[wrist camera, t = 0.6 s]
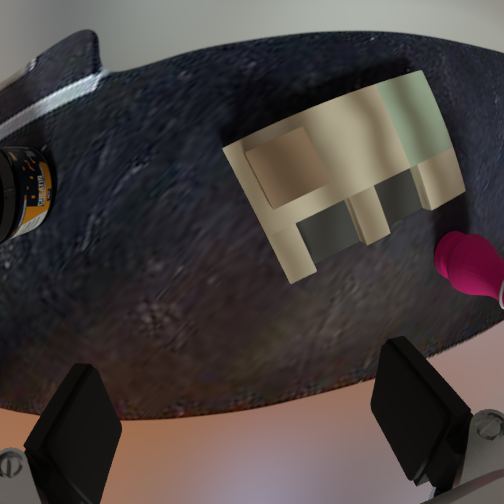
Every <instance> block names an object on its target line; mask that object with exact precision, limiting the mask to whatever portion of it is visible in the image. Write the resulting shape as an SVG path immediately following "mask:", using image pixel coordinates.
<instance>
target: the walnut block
mask: <svg viewBox="0 0 504 504" xmlns="http://www.w3.org/2000/svg"><path fill="white" fill-rule="evenodd" d="M244 156H245V158H246V160H247V162H248V164H249V166H250V168H251V170H252V172H253V174H254V176H255V178H256V180H257V182H258V184H259V186H260V188H261V190H262V192H263V194H264V196H265V198H266V200H267V202H268V203H269V205H270V206H271V207H272V209H273V210H275V209H277V208H279V207H281V206H283V205H285V204H287V203H289V202H291V201H293V200H295V199H297V198H300V197H302V196H304V195H306V194H308V193H310V192H312V191H314V190H316V189H318V188H320V187H323V186H325V185H327V184H329V181H328V178H327V176H326V174H325V172H324V170H323V167H322V165H321V163H320V161H319V159H318V157H317V154H316V152H315V150H314V148H313V146H312V144H311V142H310V140H309V138H308V136H307V134H306V132H305V130H304V128H303V126H302V127H300V128H298V129H295V130H293V131H291V132H289V133H286V134H284V135H282V136H280V137H277V138H275V139H273V140H271V141H269V142H267V143H264V144H262V145H260V146H258V147H256V148H254V149H252V150H250V151H248V152H246V153H245V154H244Z"/></svg>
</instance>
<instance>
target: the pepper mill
mask: <svg viewBox="0 0 504 504" xmlns="http://www.w3.org/2000/svg"><path fill="white" fill-rule="evenodd" d="M434 261H435V266H436V269H437V271H438V272H439V273H440V274H441V275H442V276H444V277H446V278H447V279H449V280H450V282H451V284H452V286H453V287H454V288H455V289H457V290H459V291H461V292H463V293H466V294H470V295H488V296H492V297H494V298H496V299H497V300H499V303H500V306H501V308H502V309H504V260H503V259H502V258H501V257H500V256H499V255H498V253H497V251H496V250H495V248H494V247H493V245H492V244H491V243H490V242H489V241H488V240H486V239H485V238H483V237H481V236H479V235H477V234H469V235H466V234H464V233H462V232H459V231H451V232H448V233H447V234H445V235H444V236H443V237H442V238H441V240H440V241H439V243H438V245H437V247H436V250H435V256H434Z"/></svg>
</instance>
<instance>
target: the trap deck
mask: <svg viewBox="0 0 504 504" xmlns="http://www.w3.org/2000/svg"><path fill="white" fill-rule="evenodd" d="M302 126H303V128H304V130H305V132H306V134H307V136H308V138H309V140H310V142H311V144H312V146H313V148H314V150H315V152H316V154H317V157H318V159H319V161H320V163H321V165H322V167H323V170H324V172H325V174H326V176H327V178H328V181H329V184H327V185H325V186H323V187H320V188H318V189H316V190H314V191H312V192H310V193H308V194H306V195H304V196H302V197H300V198H297V199H295V200H293V201H291V202H289V203H287V204H285V205H283V206H281V207H279V208H277V209H275V210H273V209H272V207H271V206H270V205H269V203H268V202H267V200H266V198H265V196H264V194H263V192H262V190H261V188H260V186H259V184H258V182H257V180H256V178H255V176H254V174H253V172H252V170H251V168H250V166H249V164H248V162H247V160H246V158H245V156H244V154H245V153H246V152H248V151H250V150H252V149H254V148H256V147H258V146H260V145H262V144H264V143H267V142H269V141H271V140H273V139H275V138H277V137H280V136H282V135H284V134H286V133H289V132H291V131H293V130H295V129H298V128H300V127H302ZM222 149H223V151H224V153H225V155H226V157H227V159H228V161H229V162H230V164H231V166H232V168H233V170H234V172H235V174H236V176H237V178H238V180H239V182H240V184H241V186H242V188H243V190H244V192H245V194H246V196H247V198H248V200H249V201H250V203H251V205H252V207H253V209H254V211H255V213H256V215H257V217H258V219H259V221H260V223H261V225H262V227H263V229H264V231H265V233H266V235H267V237H268V239H269V241H270V243H271V245H272V247H273V249H274V251H275V253H276V255H277V257H278V259H279V261H280V263H281V265H282V268H283V270H284V272H285V274H286V276H287V278H288V280H289V282H290V284H292V283H294V282H296V281H298V280H300V279H302V278H304V277H306V276H308V275H310V274H312V273H314V272H316V271H317V270H316V268H315V266H314V264H316V263H318V262H320V261H322V260H324V259H326V258H328V257H330V256H332V255H334V254H336V253H338V252H340V251H341V250H343V249H345V248H347V247H349V246H351V245H353V244H355V243H357V242H359V241H361V242H363V243H364V244H366V245H369V244H371V243H373V242H375V241H377V240H379V239H381V238H383V237H384V236H386V235H388V234H390V230H389V227H388V226H390V225H392V224H393V223H395V222H397V221H399V220H401V219H403V218H405V217H406V216H408V215H410V214H412V213H414V212H416V211H418V210H419V209H421V208H425V209H428V210H434V209H435V208H437V207H439V206H441V205H442V204H444V203H446V202H448V201H449V200H451V199H453V198H455V197H456V196H458V195H460V194H461V193H463V192H465V191H466V190H465V186H464V182H463V179H462V175H461V171H460V168H459V165H458V161H457V158H456V155H455V152H454V149H453V146H452V143H451V140H450V137H449V134H448V131H447V128H446V126H445V123H444V120H443V118H442V115H441V113H440V110H439V108H438V105H437V103H436V101H435V98H434V96H433V94H432V91H431V89H430V87H429V85H428V83H427V80H426V78H425V76H424V74H423V72H422V70H420V71H417V72H413V73H410V74H406V75H403V76H399V77H396V78H393V79H390V80H387V81H383V82H380V83H377V84H374V85H371V86H368V87H365V88H362V89H360V90H357V91H354V92H351V93H348V94H346V95H343V96H340V97H338V98H335V99H332V100H330V101H327V102H325V103H322V104H319V105H317V106H314V107H312V108H310V109H307V110H305V111H302V112H300V113H297V114H295V115H293V116H290V117H288V118H286V119H283V120H281V121H279V122H277V123H274V124H272V125H270V126H268V127H266V128H263V129H261V130H259V131H257V132H255V133H253V134H251V135H248V136H246V137H244V138H242V139H240V140H238V141H236V142H234V143H232V144H230V145H228V146H226V147H224V148H222Z"/></svg>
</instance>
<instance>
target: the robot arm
mask: <svg viewBox="0 0 504 504" xmlns="http://www.w3.org/2000/svg"><path fill="white" fill-rule="evenodd" d="M371 410H372V413H373V414H374V416H375V418H376V420H377V422H378V424H379V426H380V427H381V429H382V431H383V433H384V435H385V437H386V439H387V440H388V442H389V444H390V445H391V448H392V450H393V452H394V454H395V455H396V457H397V459H398V461H399V463H400V465H401V467H402V469H403V471H404V472H405V475H406V476H407V478H408V479H409V480H410V481H412V480H413V481H414V483H415V485H416V486H419V485H421V484H423V483H425V482H427V481H430V483H431V485H432V486H433V487H432V490H431V493H430V497H429V499H428V501H425V502H423V503H421V504H504V414H503V413H501V412H499V411H497V410H493V409H485V410H481V411H479V412H478V413H476V414H475V415H474V416H473V414H472V413H471V412H470V411H471V409H470V408H469V407H468V406H467V405H466V403H465V402H464V401H463V400H462V399H461V398H460V397H459V395H458V394H457V393H456V392H455V391H454V390H453V388H452V387H451V386H450V385H449V384H448V383H447V382H446V381H445V380H444V378H442V376H441V375H440V374H439V373H438V372H437V371H436V370H435V368H434V367H433V366H432V365H431V364H430V363H429V362H428V361H427V360H426V359H425V358H424V356H423V355H422V354H421V353H420V352H419V351H418V350H417V349H416V348H415V347H414V346H413V345H412V344H411V343H410V341H409V340H408V339H407V338H406V337H404V336H400V337H395V338H391V339H388V340H387V341H386V343H385V344H384V345H382V347H381V352H380V358H379V364H378V369H377V374H376V379H375V384H374V389H373V394H372V398H371ZM121 433H122V425H121V422H120V420H119V418H118V416H117V414H116V412H115V409H114V407H113V405H112V403H111V401H110V398H109V396H108V394H107V391H106V389H105V387H104V384H103V382H102V379H101V377H100V374H99V372H98V370H97V369H95V368H94V367H93V366H92V365H91V364H82V363H76V364H74V365H73V366H72V368H71V369H70V371H69V372H68V374H67V375H66V377H65V378H64V380H63V381H62V383H61V385H60V386H59V388H58V389H57V391H56V392H55V394H54V395H53V397H52V398H51V400H50V402H49V403H48V405H47V406H46V408H45V410H44V411H43V413H42V415H41V416H40V418H39V420H38V421H37V423H36V424H35V426H34V428H33V430H32V431H31V433H30V435H29V436H28V438H27V440H26V442H25V443H24V445H23V446H24V447H25V449H26V450H25V452H24V453H23V452H22V451H21V450H19V449H17V448H6V449H3V450H1V451H0V504H100V501H101V498H102V494H103V491H104V487H105V484H106V481H107V477H108V473H109V471H110V467H111V464H112V461H113V458H114V454H115V451H116V448H117V445H118V442H119V439H120V436H121Z"/></svg>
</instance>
